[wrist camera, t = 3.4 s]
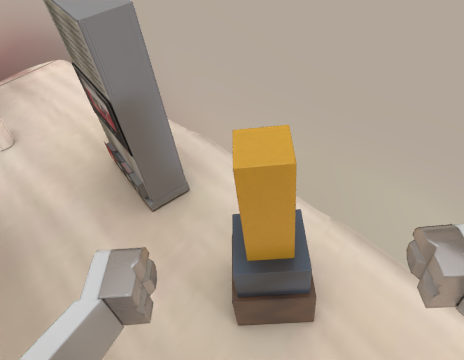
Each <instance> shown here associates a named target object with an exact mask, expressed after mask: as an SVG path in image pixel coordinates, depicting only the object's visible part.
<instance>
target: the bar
mask: <svg viewBox="0 0 464 360" xmlns="http://www.w3.org/2000/svg"><path fill="white" fill-rule="evenodd" d="M233 172H234V179H235V185H236V192H237V198H238V204H239V211H240V217H241V224H242V230H243V237H244V243H245V249H246V256H247V261H256V260H271V259H287V258H294V257H295V209H296V158H295V153H294V148H293V143H292V138H291V133H290V128H289V125H281V126H270V127H260V128H250V129H239V130H233Z"/></svg>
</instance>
